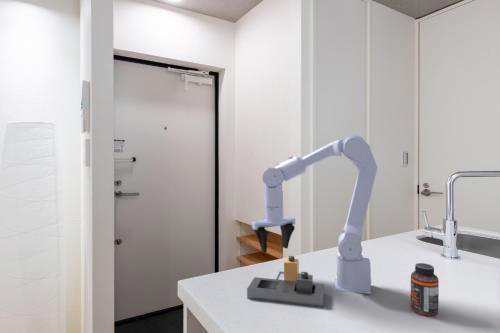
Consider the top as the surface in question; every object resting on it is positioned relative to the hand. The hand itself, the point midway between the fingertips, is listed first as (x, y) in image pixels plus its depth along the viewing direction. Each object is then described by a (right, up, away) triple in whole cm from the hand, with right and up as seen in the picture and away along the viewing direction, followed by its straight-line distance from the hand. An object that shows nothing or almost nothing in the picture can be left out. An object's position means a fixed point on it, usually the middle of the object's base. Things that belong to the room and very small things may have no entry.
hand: (274, 249), depth 94 cm
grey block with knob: (+7, -10, -13) cm, 18 cm away
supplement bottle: (+35, -10, -20) cm, 42 cm away
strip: (+2, -10, -12) cm, 16 cm away
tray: (+5, -10, -1) cm, 11 cm away
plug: (+5, -9, -1) cm, 11 cm away
